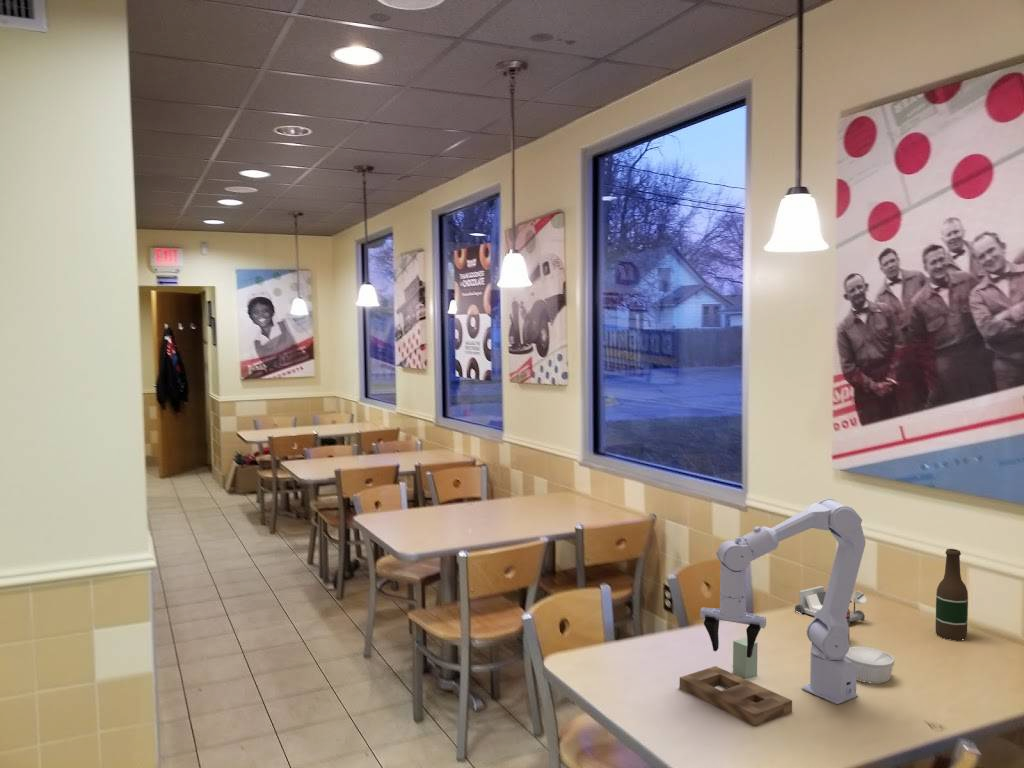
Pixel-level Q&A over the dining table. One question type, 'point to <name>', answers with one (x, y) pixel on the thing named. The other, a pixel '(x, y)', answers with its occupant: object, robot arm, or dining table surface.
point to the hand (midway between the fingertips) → (732, 652)
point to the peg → (744, 659)
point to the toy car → (814, 600)
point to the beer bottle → (952, 600)
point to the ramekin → (871, 664)
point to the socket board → (736, 695)
